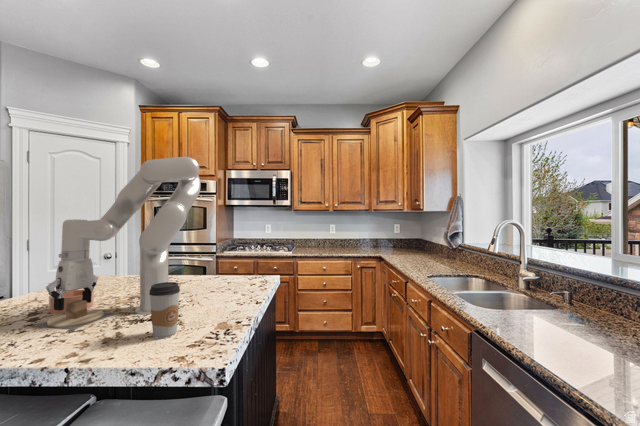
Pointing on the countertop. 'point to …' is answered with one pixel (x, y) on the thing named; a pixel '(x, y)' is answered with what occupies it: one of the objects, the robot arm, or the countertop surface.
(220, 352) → the countertop surface
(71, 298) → the bowl
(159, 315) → the coffee cup
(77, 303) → the lid
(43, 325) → the mat
